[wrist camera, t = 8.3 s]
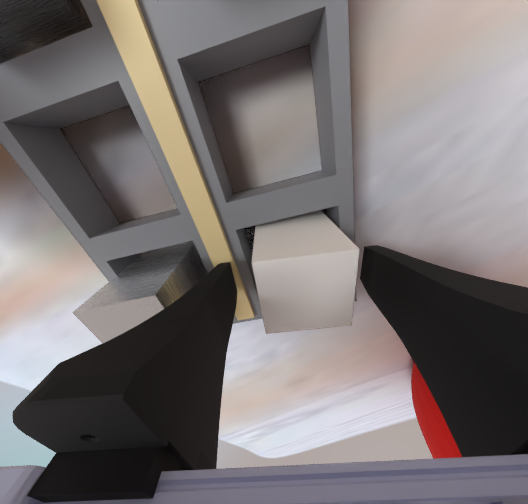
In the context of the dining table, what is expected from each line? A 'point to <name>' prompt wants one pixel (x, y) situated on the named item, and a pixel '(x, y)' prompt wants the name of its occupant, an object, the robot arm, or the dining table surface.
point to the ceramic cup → (432, 420)
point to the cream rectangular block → (304, 273)
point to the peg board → (178, 123)
